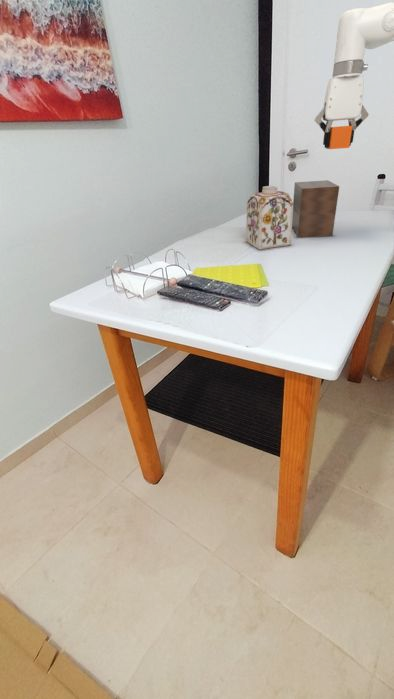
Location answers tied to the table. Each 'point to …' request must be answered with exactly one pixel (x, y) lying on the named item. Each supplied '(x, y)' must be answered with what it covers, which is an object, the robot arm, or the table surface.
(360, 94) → the robot arm
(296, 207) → the wooden grain block
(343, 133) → the cube
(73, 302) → the table surface
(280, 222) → the decorative jar
